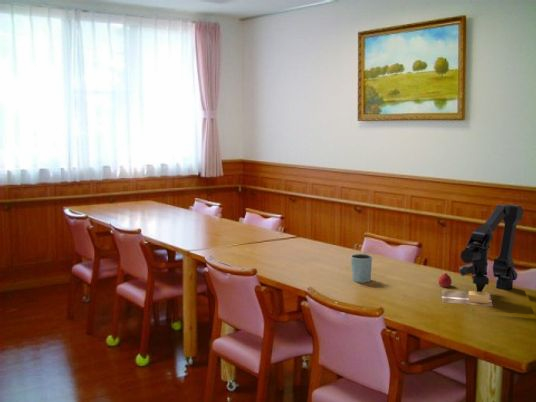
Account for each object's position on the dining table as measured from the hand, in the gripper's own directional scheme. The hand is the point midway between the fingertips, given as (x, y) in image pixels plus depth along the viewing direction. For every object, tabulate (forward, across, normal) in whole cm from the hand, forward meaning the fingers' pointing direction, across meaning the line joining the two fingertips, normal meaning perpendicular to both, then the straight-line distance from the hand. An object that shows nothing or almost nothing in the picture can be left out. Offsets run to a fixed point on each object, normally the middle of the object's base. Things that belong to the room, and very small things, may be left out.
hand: (478, 294), depth 254 cm
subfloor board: (+2, +4, -5) cm, 7 cm away
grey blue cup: (+2, -17, -53) cm, 56 cm away
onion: (+2, -12, -14) cm, 19 cm away
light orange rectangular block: (+1, +6, 0) cm, 6 cm away
